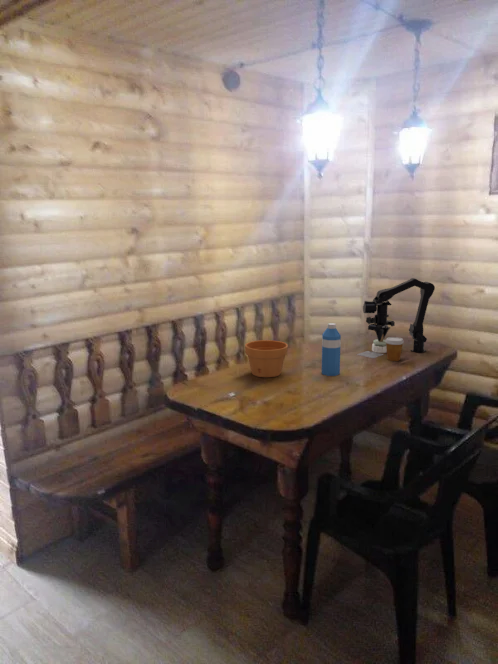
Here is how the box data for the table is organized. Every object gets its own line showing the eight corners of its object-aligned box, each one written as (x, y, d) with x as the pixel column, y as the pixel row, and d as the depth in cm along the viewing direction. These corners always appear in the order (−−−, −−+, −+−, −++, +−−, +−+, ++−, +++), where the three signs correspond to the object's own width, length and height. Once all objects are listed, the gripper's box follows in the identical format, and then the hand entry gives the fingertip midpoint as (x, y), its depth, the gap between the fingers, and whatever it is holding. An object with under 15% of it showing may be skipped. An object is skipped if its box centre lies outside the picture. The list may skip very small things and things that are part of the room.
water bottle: (342, 371, 279) (343, 322, 274) (336, 376, 271) (338, 326, 266) (324, 369, 283) (325, 321, 278) (318, 374, 275) (319, 325, 269)
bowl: (377, 348, 322) (377, 342, 321) (391, 351, 316) (392, 344, 315) (368, 351, 316) (369, 345, 315) (382, 354, 310) (383, 347, 309)
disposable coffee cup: (401, 358, 302) (402, 337, 299) (404, 363, 293) (405, 341, 290) (383, 358, 303) (384, 336, 300) (385, 363, 294) (386, 341, 291)
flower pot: (253, 365, 291) (253, 338, 288) (292, 369, 284) (292, 341, 281) (239, 377, 272) (238, 348, 268) (280, 381, 265) (280, 351, 261)
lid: (378, 340, 320) (378, 331, 319) (390, 343, 315) (391, 334, 314) (370, 343, 315) (371, 334, 313) (383, 345, 309) (383, 336, 308)
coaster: (367, 352, 315) (367, 350, 315) (384, 355, 308) (384, 354, 308) (356, 355, 308) (356, 354, 308) (373, 359, 300) (373, 358, 300)
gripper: (378, 308, 323) (377, 335, 326) (360, 313, 310) (359, 340, 313) (395, 311, 315) (394, 338, 319) (377, 316, 302) (376, 344, 306)
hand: (380, 340), depth 314 cm, fingers closed on lid, 3 cm apart
